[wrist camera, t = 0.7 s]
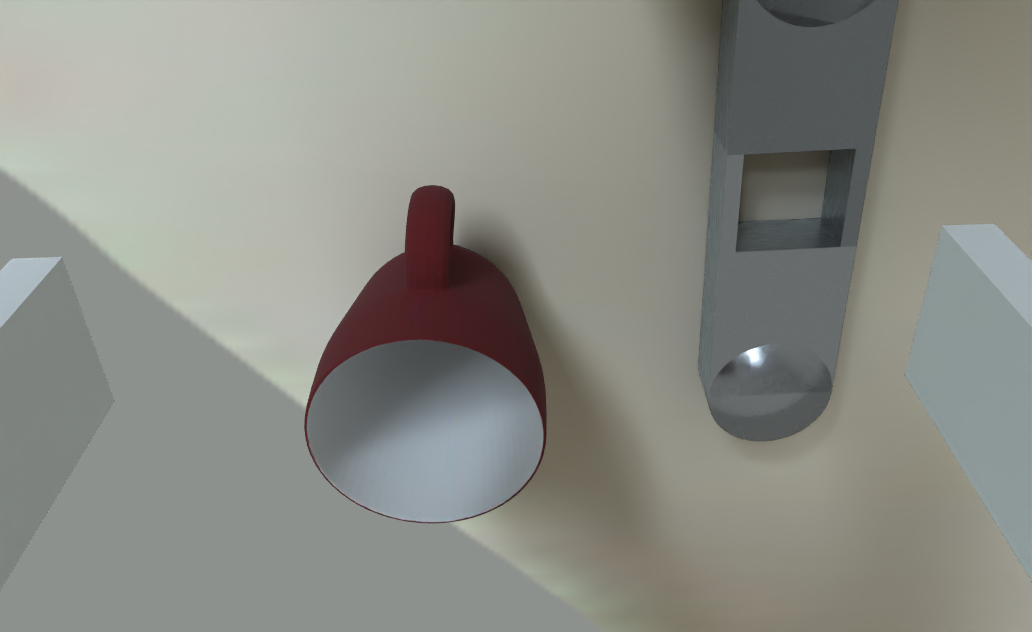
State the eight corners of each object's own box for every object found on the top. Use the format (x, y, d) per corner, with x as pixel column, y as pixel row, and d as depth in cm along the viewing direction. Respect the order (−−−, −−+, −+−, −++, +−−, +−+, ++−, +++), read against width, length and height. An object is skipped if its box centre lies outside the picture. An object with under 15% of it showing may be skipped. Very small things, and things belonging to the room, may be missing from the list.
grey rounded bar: (733, -151, 29) (750, -144, 27) (894, -161, 29) (924, -155, 27) (695, 408, 41) (705, 443, 39) (807, 403, 41) (823, 438, 39)
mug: (316, 151, 34) (252, 280, 26) (521, 128, 34) (524, 252, 26) (371, 369, 40) (333, 534, 32) (548, 352, 40) (558, 514, 31)
